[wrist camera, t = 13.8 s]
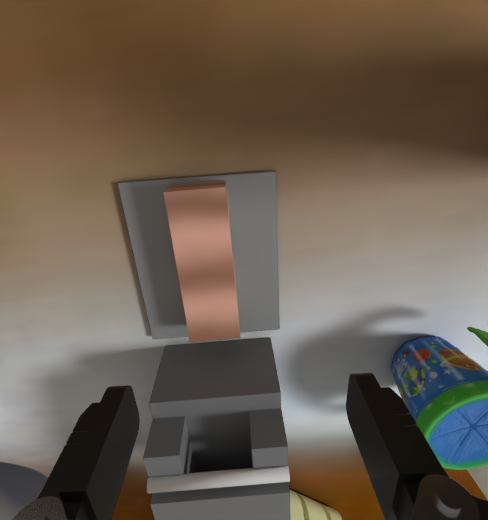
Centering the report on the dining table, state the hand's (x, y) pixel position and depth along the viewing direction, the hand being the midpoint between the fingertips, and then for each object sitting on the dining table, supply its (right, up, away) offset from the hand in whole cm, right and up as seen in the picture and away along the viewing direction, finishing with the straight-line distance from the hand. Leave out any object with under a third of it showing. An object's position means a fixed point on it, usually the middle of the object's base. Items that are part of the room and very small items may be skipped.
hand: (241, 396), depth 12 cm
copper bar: (-3, +5, +20) cm, 21 cm away
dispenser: (-2, -12, +28) cm, 30 cm away
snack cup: (+21, -7, +27) cm, 35 cm away
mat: (-4, +5, +20) cm, 21 cm away
